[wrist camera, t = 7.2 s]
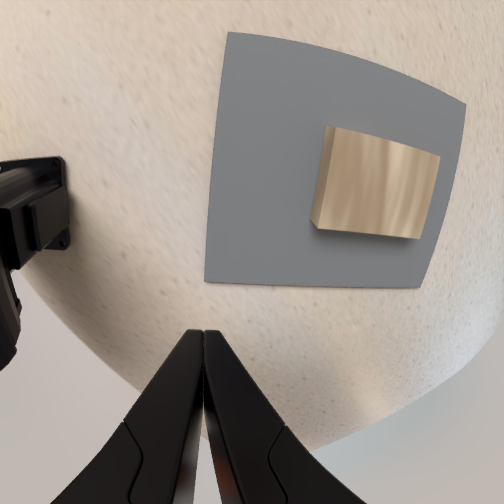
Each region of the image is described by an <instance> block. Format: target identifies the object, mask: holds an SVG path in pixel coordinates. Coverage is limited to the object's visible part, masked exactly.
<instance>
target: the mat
mask: <svg viewBox="0 0 504 504" xmlns="http://www.w3.org/2000/svg"><path fill="white" fill-rule="evenodd" d="M465 112H466V104H465V103H463V102H461V101H459V100H457V99H456V98H454V97H452V96H450V95H448V94H446V93H444V92H442V91H440V90H438V89H436V88H434V87H432V86H430V85H428V84H425V83H423V82H421V81H419V80H417V79H414V78H412V77H410V76H407V75H405V74H402V73H400V72H398V71H395V70H392V69H390V68H387V67H385V66H382V65H379V64H376V63H373V62H370V61H367V60H364V59H361V58H358V57H355V56H352V55H349V54H345V53H342V52H338V51H335V50H331V49H327V48H323V47H319V46H315V45H311V44H306V43H301V42H297V41H292V40H286V39H281V38H275V37H269V36H262V35H254V34H246V33H237V32H228V35H227V41H226V48H225V55H224V62H223V70H222V77H221V85H220V93H219V102H218V110H217V119H216V129H215V138H214V148H213V159H212V170H211V182H210V194H209V207H208V222H207V237H206V255H205V275H204V281H205V282H223V283H243V284H265V285H292V286H326V287H394V288H420V287H421V284H422V282H423V279H424V276H425V274H426V271H427V269H428V266H429V263H430V260H431V257H432V255H433V252H434V249H435V246H436V243H437V240H438V237H439V233H440V230H441V227H442V224H443V220H444V217H445V213H446V210H447V206H448V202H449V198H450V194H451V190H452V186H453V182H454V177H455V173H456V168H457V163H458V158H459V153H460V147H461V141H462V135H463V128H464V120H465ZM326 126H332V127H338V128H343V129H347V130H351V131H356V132H360V133H364V134H368V135H372V136H376V137H379V138H383V139H387V140H390V141H394V142H397V143H400V144H404V145H407V146H410V147H413V148H417V149H420V150H423V151H426V152H429V153H432V154H434V155H437V156H440V162H439V167H438V172H437V176H436V181H435V185H434V189H433V194H432V198H431V202H430V205H429V209H428V213H427V216H426V220H425V223H424V227H423V230H422V234H421V237H420V239H414V238H406V237H397V236H388V235H379V234H370V233H360V232H350V231H340V230H330V229H319V228H317V227H316V226H315V225H314V223H313V222H312V221H311V220H310V217H311V211H312V206H313V201H314V195H315V190H316V184H317V178H318V173H319V167H320V161H321V155H322V148H323V142H324V136H325V129H326Z"/></svg>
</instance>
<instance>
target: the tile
mask: <svg viewBox="0 0 504 504" xmlns="http://www.w3.org/2000/svg"><path fill="white" fill-rule="evenodd" d="M439 162H440V156H437V155H434V154H432V153H429V152H426V151H423V150H420V149H417V148H413V147H410V146H407V145H404V144H400V143H397V142H394V141H390V140H387V139H383V138H379V137H376V136H372V135H368V134H364V133H360V132H356V131H351V130H347V129H343V128H338V127H332V126H326V129H325V136H324V142H323V148H322V155H321V161H320V167H319V173H318V178H317V184H316V190H315V195H314V201H313V206H312V211H311V217H310V220H311V221H312V222H313V223H314V225H315V226H316V227H317V228H319V229H330V230H340V231H350V232H360V233H370V234H379V235H388V236H397V237H406V238H414V239H420V237H421V234H422V230H423V227H424V223H425V220H426V216H427V213H428V209H429V205H430V202H431V198H432V194H433V189H434V185H435V181H436V176H437V172H438V167H439Z"/></svg>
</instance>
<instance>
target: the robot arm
mask: <svg viewBox="0 0 504 504" xmlns="http://www.w3.org/2000/svg"><path fill="white" fill-rule="evenodd" d="M56 161H57V162H58V167H56V166H55V162H56ZM0 167H1V170H0V371H1V370H2V369H3V368H5V367H6V366H7V365H8V364H9V362H10V361H11V360H12V358H13V357H14V356H15V354H16V352H17V349H16V346H15V345H16V343H17V340H18V337H19V334H20V331H21V328H20V327H21V326H20V317H19V316H20V312H21V309H22V305H21V302H20V300H19V299H18V298H17V295H16V292H15V288H14V285H13V282H12V278H11V275H10V274H11V273H12V272H13V270H15V269H16V270H19V269H21V268H22V267H23V266H24V265H25V264H26V263H27V262H28V261H29V260H30V259H31V258H32V257H33V256H34V255H35V254H36V253H37V252H40V251H42V250H43V249H53V250H66V249H67V248H68V247H69V246H70V236H69V228H68V225H69V213H68V201H67V189H66V188H65V176H64V160H63V158H62V157H60V156H51V157H38V158H27V159H17V160H8V161H1V162H0ZM62 241H64V242H65V245H64V244H63V243H62ZM203 402H204V414H205V420H206V426H207V432H208V438H209V443H210V448H211V454H212V459H213V464H214V469H215V474H216V478H217V483H218V487H219V492H220V496H221V501H222V504H367V503H365V502H364V501H363V500H361V499H360V498H359V497H358V496H357V495H355V494H354V493H353V492H352V491H351V490H349V489H348V488H347V487H346V486H345V485H344V484H342V483H341V482H340V481H339V480H338V479H337V478H336V477H334V476H333V475H332V474H331V473H330V472H329V471H328V470H326V469H325V467H323V466H322V465H321V464H320V463H319V462H318V461H317V460H316V459H315V458H314V457H313V456H312V455H311V454H310V453H309V451H308V450H307V449H306V448H305V447H304V446H303V445H302V443H301V442H300V441H299V440H298V439H297V437H296V436H295V435H294V434H293V432H292V431H291V430H290V428H289V427H288V426H285V422H284V421H283V420H282V418H281V417H280V416H279V414H278V413H277V412H276V410H275V409H274V408H273V406H272V405H271V404H270V402H269V401H268V399H267V398H266V397H265V395H264V394H263V393H262V391H261V390H260V388H259V387H258V386H257V384H256V383H255V382H254V380H253V379H252V377H251V376H250V374H249V373H248V372H247V370H246V369H245V367H244V366H243V364H242V363H241V362H240V360H239V359H238V357H237V356H236V354H235V353H234V351H233V350H232V348H231V347H230V345H229V344H228V342H227V341H226V339H225V338H224V336H223V335H222V333H221V332H220V331H218V330H205V331H204V332H203V331H202V330H196V329H188V330H186V332H185V333H184V334H183V336H182V337H181V339H180V340H179V341H178V343H177V344H176V346H175V347H174V348H173V350H172V351H171V353H170V354H169V355H168V357H167V358H166V360H165V361H164V362H163V364H162V365H161V367H160V368H159V370H158V371H157V372H156V374H155V375H154V377H153V378H152V379H151V381H150V382H149V384H148V385H147V386H146V388H145V389H144V391H143V392H142V394H141V395H140V396H139V398H138V399H137V401H136V402H135V404H134V405H133V406H132V408H131V409H130V411H129V412H128V414H127V415H126V417H125V418H124V419H123V421H124V422H121V423H120V425H119V426H118V428H117V429H116V430H115V432H114V433H113V435H112V436H111V437H110V439H109V440H108V441H107V443H106V444H105V445H104V447H103V448H102V449H101V451H100V452H99V453H98V454H97V455H96V456H95V457H94V458H93V459H92V461H91V462H90V463H89V464H88V465H87V466H86V467H85V468H84V469H83V470H82V472H81V473H80V474H79V475H78V476H77V477H76V478H75V479H74V480H73V481H72V482H71V483H70V484H69V485H68V486H67V487H66V488H65V489H64V490H63V491H62V492H61V494H60V495H58V496H57V497H56V498H55V500H53V501H52V502H51V503H50V504H193V500H194V489H195V488H194V487H195V479H196V469H197V460H198V451H199V441H200V433H201V425H202V416H203Z"/></svg>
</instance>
